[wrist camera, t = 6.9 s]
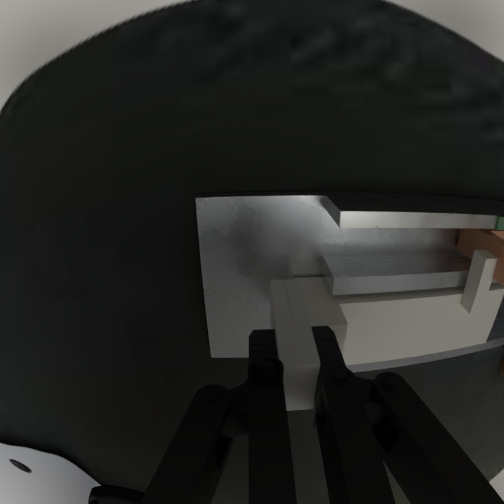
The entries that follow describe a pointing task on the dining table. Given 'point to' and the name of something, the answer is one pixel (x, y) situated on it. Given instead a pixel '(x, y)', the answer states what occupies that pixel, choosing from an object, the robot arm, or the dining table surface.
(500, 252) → the brown l-shaped block
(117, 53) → the dining table surface
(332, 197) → the gauge housing
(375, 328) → the plunger
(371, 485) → the robot arm
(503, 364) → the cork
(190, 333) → the dining table surface
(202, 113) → the dining table surface
